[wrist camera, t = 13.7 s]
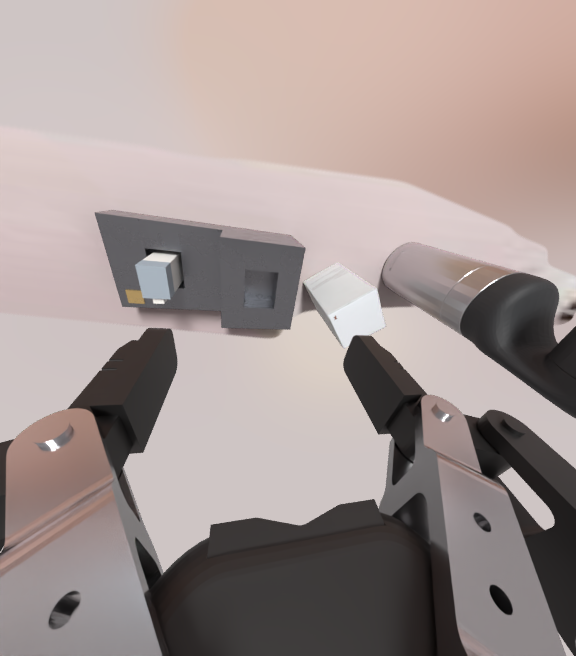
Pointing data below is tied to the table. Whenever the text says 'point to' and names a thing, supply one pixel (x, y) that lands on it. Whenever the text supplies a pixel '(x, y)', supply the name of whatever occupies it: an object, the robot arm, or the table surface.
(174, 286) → the plug
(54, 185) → the table surface
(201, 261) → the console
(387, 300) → the table surface
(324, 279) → the supplement box
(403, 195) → the table surface
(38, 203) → the table surface
